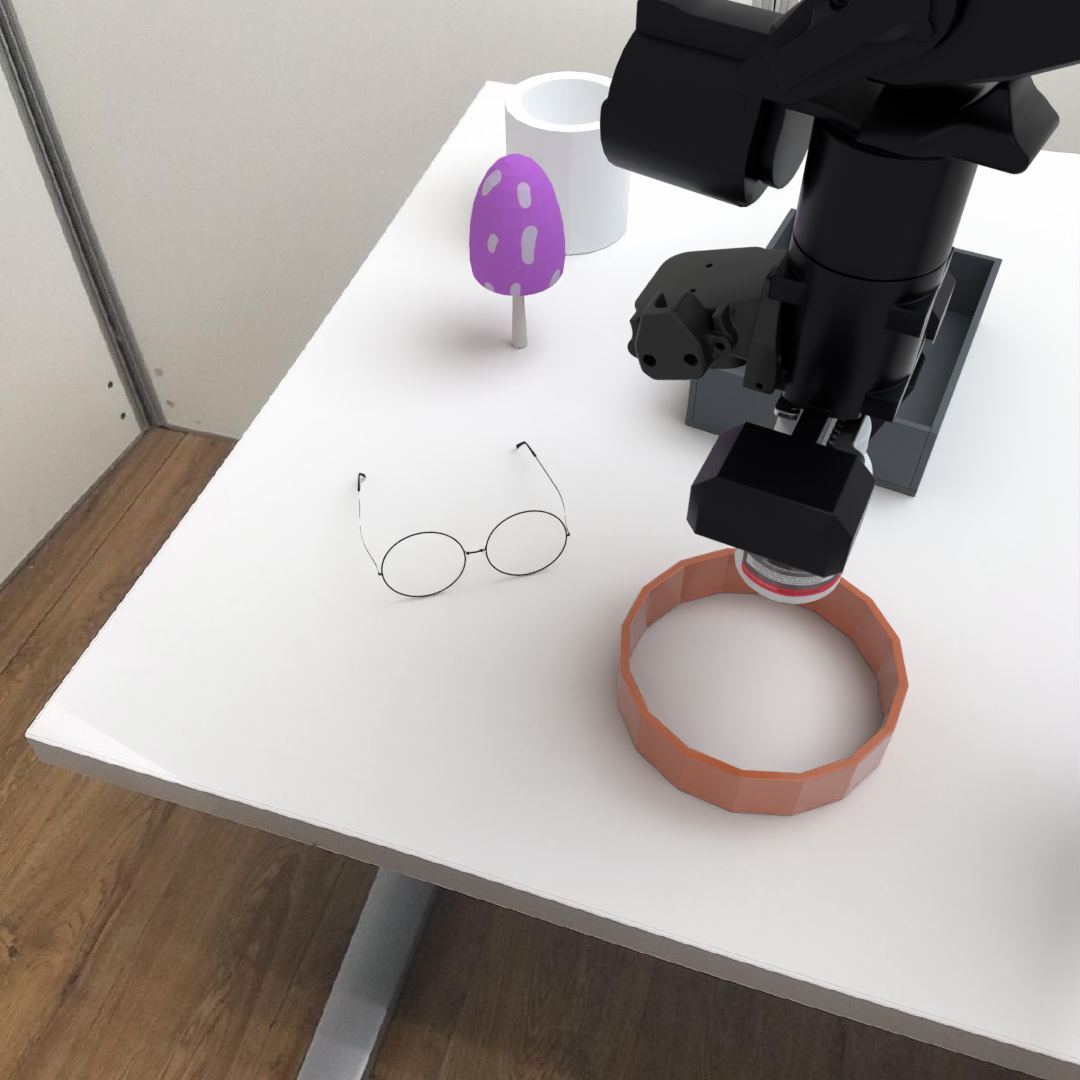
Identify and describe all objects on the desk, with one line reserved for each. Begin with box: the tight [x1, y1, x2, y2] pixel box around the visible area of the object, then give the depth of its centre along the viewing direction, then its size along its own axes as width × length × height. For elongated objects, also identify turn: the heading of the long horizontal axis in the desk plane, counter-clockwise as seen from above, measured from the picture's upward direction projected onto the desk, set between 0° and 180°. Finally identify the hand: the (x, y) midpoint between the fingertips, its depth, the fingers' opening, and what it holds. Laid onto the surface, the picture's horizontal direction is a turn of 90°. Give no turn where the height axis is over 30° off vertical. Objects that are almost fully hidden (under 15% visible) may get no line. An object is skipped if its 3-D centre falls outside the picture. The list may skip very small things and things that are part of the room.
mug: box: [504, 70, 631, 256], centre depth 89 cm, size 14×10×11 cm
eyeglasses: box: [356, 440, 571, 598], centre depth 66 cm, size 11×13×5 cm
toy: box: [468, 154, 566, 349], centre depth 75 cm, size 7×7×15 cm
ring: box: [616, 547, 910, 816], centre depth 58 cm, size 15×15×4 cm
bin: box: [684, 207, 1003, 497], centre depth 76 cm, size 16×21×6 cm
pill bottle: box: [734, 409, 873, 605], centre depth 50 cm, size 5×5×10 cm
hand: (798, 523), depth 51 cm, fingers closed on pill bottle, 5 cm apart
